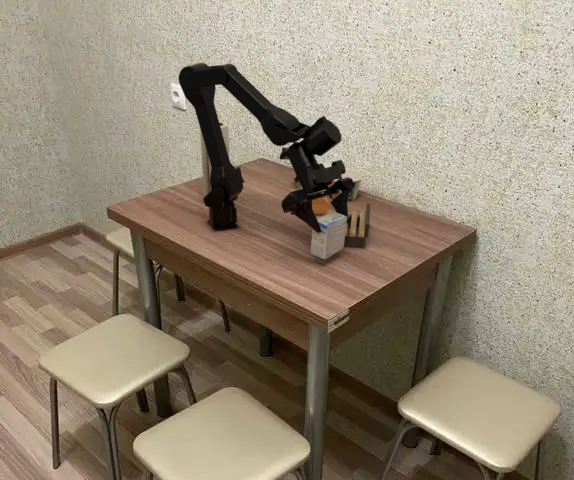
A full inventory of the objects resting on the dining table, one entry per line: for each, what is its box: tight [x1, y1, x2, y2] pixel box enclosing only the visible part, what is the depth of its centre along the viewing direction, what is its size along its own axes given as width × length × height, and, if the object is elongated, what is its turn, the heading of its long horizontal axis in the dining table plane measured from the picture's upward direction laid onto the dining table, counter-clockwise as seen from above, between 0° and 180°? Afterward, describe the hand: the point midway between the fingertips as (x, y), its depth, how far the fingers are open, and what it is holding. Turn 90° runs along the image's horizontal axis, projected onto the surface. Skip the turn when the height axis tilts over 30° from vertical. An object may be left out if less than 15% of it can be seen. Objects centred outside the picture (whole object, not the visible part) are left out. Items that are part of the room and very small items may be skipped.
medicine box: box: [310, 211, 347, 260], centre depth 136 cm, size 8×4×9 cm, turn 140°
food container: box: [333, 167, 364, 202], centre depth 173 cm, size 12×12×6 cm
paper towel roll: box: [199, 121, 230, 198], centre depth 164 cm, size 7×6×21 cm
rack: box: [327, 203, 372, 249], centre depth 150 cm, size 11×14×6 cm
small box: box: [300, 161, 333, 215], centre depth 161 cm, size 8×6×13 cm
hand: (333, 227), depth 134 cm, fingers closed on medicine box, 8 cm apart
